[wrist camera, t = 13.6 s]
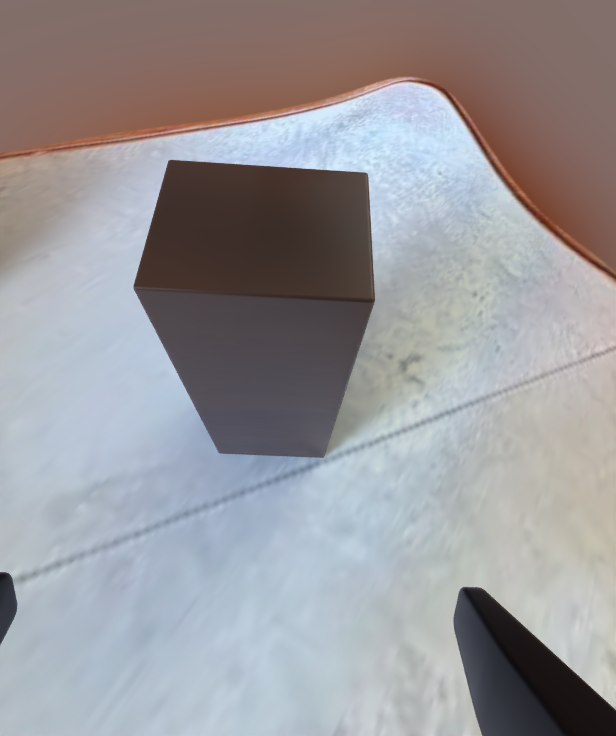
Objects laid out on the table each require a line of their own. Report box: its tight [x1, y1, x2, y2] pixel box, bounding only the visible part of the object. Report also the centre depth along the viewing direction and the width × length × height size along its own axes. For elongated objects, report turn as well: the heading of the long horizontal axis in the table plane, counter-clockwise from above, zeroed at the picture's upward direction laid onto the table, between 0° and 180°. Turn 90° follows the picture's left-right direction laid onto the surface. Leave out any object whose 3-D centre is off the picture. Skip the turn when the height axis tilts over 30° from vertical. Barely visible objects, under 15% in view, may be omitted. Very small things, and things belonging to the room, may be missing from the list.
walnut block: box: [134, 160, 375, 458], centre depth 15 cm, size 4×5×12 cm
